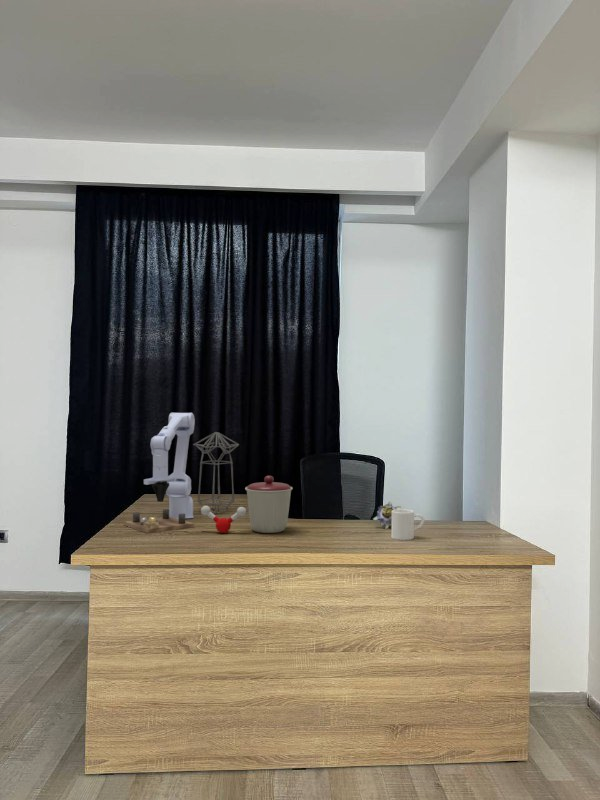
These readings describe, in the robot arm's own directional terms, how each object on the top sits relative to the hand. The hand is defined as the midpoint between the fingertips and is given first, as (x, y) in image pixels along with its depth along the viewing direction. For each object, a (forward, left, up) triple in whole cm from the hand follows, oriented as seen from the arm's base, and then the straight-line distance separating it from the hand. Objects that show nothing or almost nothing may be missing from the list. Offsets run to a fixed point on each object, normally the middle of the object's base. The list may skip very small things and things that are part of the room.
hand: (160, 501), depth 286 cm
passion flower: (-72, +54, -10) cm, 91 cm away
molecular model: (-13, +25, -10) cm, 30 cm away
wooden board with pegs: (0, -1, -10) cm, 10 cm away
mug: (-62, +73, -10) cm, 96 cm away
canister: (-29, +32, -10) cm, 44 cm away
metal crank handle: (+6, +2, -8) cm, 11 cm away
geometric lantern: (-36, -17, -10) cm, 41 cm away
